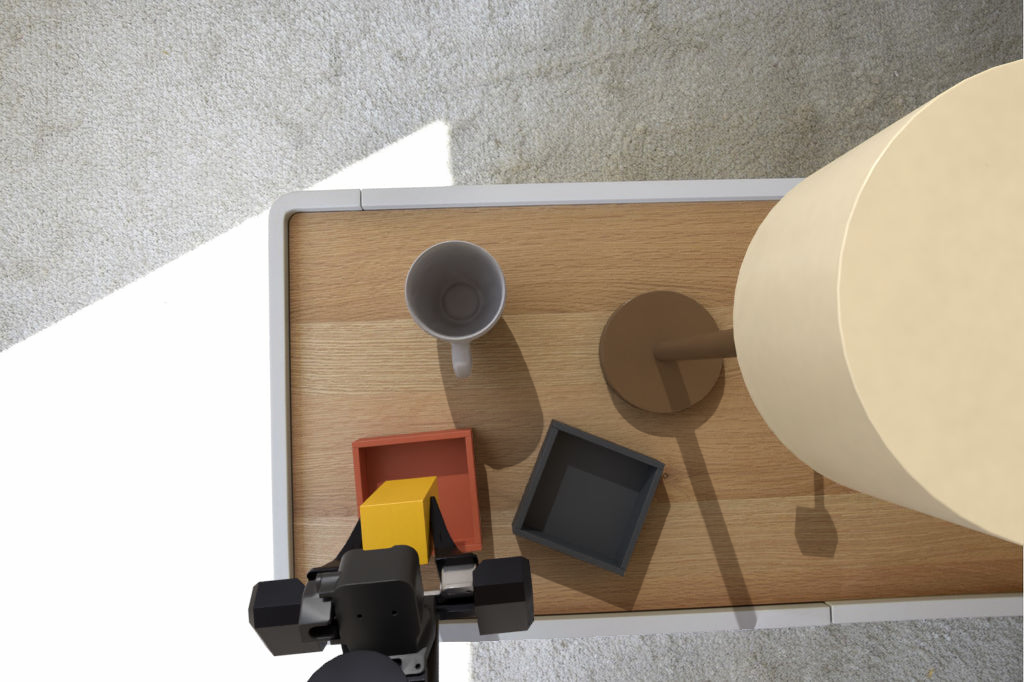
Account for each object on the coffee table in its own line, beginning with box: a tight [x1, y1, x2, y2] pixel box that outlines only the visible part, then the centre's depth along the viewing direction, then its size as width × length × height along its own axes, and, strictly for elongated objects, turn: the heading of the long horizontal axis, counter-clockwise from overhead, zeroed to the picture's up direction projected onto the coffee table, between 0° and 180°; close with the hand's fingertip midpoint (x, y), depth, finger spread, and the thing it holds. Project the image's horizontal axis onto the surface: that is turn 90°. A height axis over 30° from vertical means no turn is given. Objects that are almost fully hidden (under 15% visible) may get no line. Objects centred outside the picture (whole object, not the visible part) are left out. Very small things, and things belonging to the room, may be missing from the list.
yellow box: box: [360, 476, 440, 566], centre depth 52 cm, size 4×4×11 cm
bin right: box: [511, 418, 666, 577], centre depth 63 cm, size 11×11×4 cm
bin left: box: [351, 426, 484, 557], centre depth 63 cm, size 11×11×4 cm
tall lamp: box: [598, 58, 1024, 547], centre depth 42 cm, size 14×14×48 cm
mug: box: [404, 239, 508, 379], centre depth 61 cm, size 12×9×10 cm
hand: (402, 501), depth 51 cm, fingers closed on yellow box, 4 cm apart
